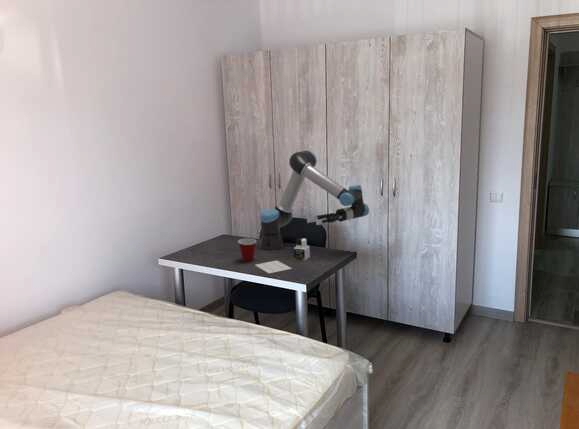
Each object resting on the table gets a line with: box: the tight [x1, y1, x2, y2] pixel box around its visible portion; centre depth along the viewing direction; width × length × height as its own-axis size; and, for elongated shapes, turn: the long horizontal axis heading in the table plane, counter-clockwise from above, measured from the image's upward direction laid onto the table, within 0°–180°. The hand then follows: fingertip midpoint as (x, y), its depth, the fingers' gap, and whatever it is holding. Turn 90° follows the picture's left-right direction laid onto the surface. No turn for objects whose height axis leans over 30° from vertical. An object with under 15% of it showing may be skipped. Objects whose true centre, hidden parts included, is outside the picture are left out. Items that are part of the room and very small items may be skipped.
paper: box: [254, 259, 292, 274], centre depth 264 cm, size 18×14×1 cm
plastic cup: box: [237, 238, 257, 263], centre depth 277 cm, size 11×11×12 cm
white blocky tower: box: [293, 237, 311, 262], centre depth 276 cm, size 7×7×12 cm
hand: (311, 221), depth 276 cm, fingers open, 13 cm apart
